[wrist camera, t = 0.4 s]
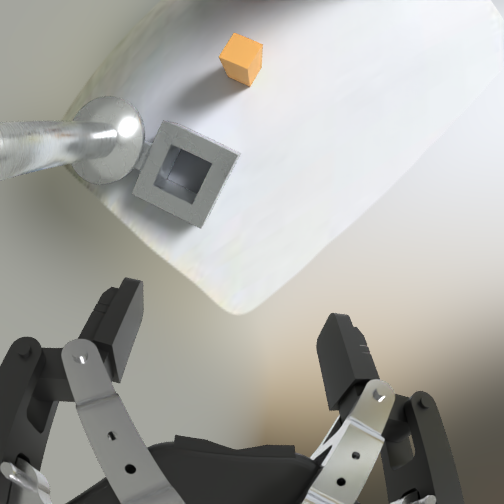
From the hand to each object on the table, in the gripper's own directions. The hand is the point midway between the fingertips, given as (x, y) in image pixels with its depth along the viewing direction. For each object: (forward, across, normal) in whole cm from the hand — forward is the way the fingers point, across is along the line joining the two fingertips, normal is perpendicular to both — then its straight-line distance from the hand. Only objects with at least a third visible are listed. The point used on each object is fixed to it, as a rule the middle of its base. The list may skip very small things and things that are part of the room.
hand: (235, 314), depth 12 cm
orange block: (+28, +2, -11) cm, 31 cm away
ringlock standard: (+27, +11, +1) cm, 29 cm away
